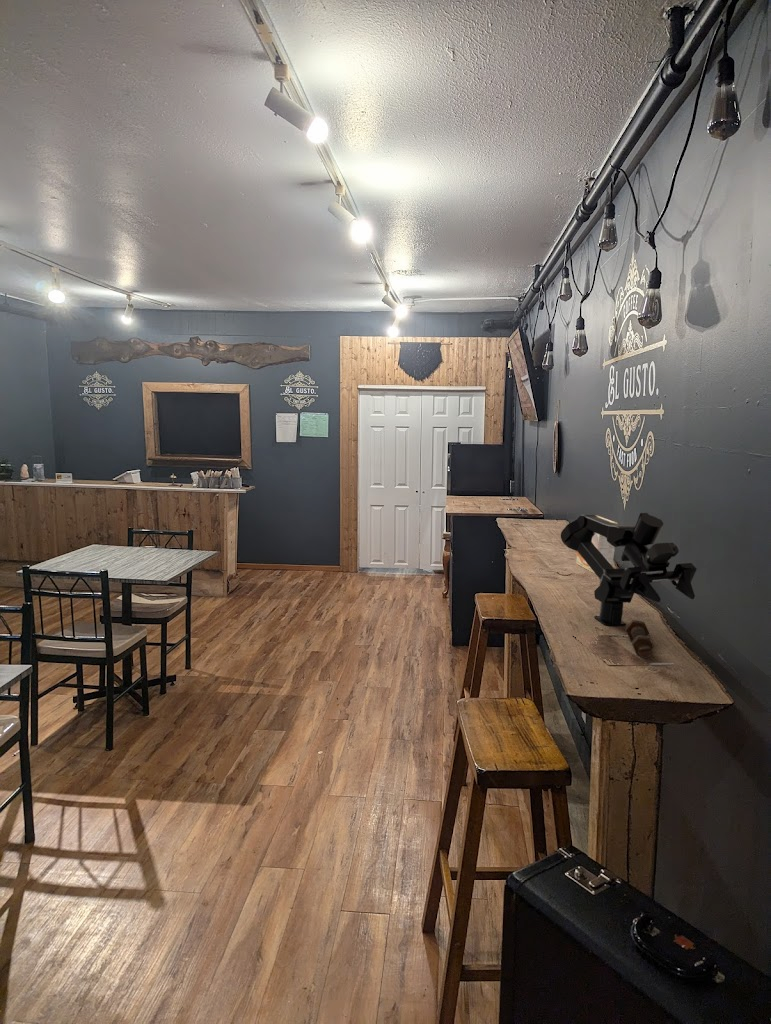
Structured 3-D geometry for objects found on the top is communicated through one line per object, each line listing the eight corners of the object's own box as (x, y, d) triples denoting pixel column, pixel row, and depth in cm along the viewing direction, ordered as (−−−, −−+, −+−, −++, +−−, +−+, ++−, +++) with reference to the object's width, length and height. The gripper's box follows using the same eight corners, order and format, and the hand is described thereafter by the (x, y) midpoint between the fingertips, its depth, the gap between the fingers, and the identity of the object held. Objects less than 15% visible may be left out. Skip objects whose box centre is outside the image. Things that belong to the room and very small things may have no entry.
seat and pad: (571, 635, 163) (571, 635, 163) (631, 635, 166) (631, 635, 166) (608, 665, 145) (608, 665, 145) (674, 664, 148) (674, 664, 148)
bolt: (639, 666, 150) (631, 642, 164) (660, 659, 148) (651, 636, 162) (629, 644, 149) (622, 623, 164) (650, 637, 148) (641, 616, 162)
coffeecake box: (575, 563, 243) (580, 514, 240) (592, 564, 245) (597, 515, 241) (594, 574, 229) (600, 522, 225) (612, 574, 230) (618, 522, 227)
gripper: (619, 535, 156) (652, 576, 143) (685, 531, 160) (723, 570, 147) (607, 570, 162) (637, 611, 150) (671, 565, 166) (706, 605, 153)
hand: (676, 599), depth 150 cm, fingers open, 9 cm apart
